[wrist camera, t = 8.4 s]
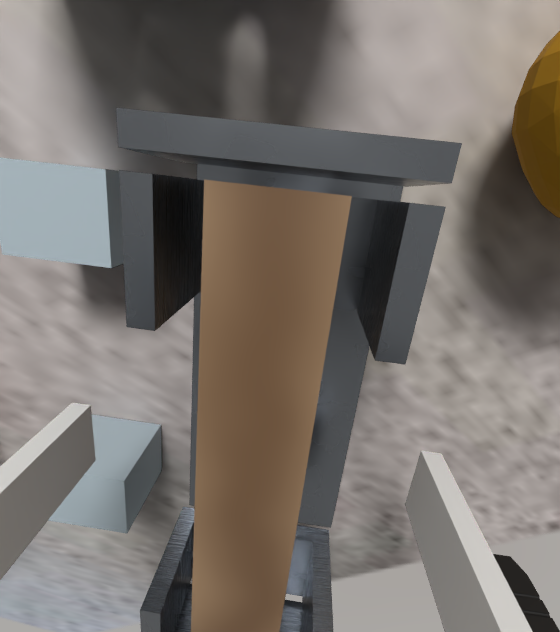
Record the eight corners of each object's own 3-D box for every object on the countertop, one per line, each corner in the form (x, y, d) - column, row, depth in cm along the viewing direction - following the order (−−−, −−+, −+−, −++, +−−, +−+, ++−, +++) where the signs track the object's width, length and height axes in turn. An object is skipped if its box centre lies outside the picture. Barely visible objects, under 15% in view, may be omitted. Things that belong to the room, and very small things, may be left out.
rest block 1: (74, 240, 20) (2, 254, 15) (67, 165, 19) (-15, 155, 14) (158, 250, 20) (111, 268, 15) (157, 175, 19) (105, 169, 14)
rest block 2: (95, 460, 26) (46, 520, 21) (91, 414, 24) (37, 467, 20) (161, 470, 25) (127, 533, 21) (161, 424, 24) (124, 481, 19)
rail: (212, 580, 19) (189, 666, 15) (235, 183, 12) (204, 179, 8) (278, 592, 18) (271, 681, 15) (340, 195, 12) (351, 195, 8)
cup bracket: (194, 491, 26) (117, 685, 16) (204, 149, 18) (63, 92, 8) (330, 512, 25) (341, 727, 15) (400, 170, 17) (522, 138, 7)
